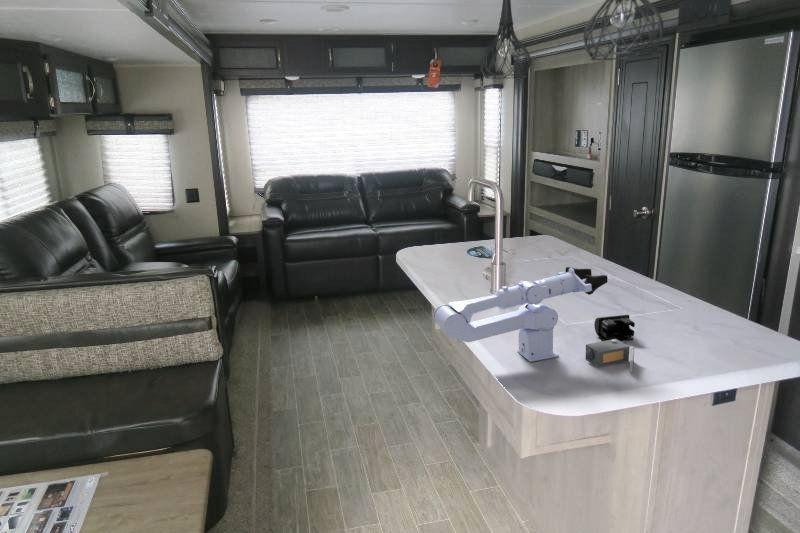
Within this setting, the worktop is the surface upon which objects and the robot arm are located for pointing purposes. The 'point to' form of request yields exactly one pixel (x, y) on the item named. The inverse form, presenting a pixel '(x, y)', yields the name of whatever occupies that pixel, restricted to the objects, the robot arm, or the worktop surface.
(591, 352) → the camera case
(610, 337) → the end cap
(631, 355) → the side cover
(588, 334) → the worktop surface
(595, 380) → the worktop surface
